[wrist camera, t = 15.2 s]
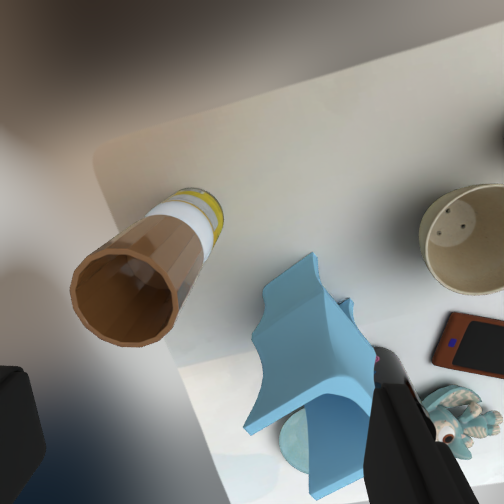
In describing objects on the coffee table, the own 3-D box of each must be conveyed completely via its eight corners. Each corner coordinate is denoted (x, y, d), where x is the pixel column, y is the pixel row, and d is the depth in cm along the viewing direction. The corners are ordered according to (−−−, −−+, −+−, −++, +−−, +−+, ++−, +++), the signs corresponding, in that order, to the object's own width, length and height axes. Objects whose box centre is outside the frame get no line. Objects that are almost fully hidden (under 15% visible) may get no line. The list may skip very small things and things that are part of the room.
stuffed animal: (516, 486, 42) (419, 499, 41) (473, 436, 49) (388, 446, 47) (540, 412, 39) (434, 424, 37) (490, 369, 45) (399, 378, 44)
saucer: (316, 376, 45) (318, 388, 43) (389, 422, 47) (394, 436, 45) (261, 434, 49) (260, 448, 47) (330, 475, 51) (333, 490, 48)
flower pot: (487, 268, 39) (530, 298, 33) (392, 264, 40) (416, 293, 33) (510, 174, 36) (564, 186, 29) (407, 171, 37) (437, 182, 30)
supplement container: (381, 333, 43) (413, 396, 33) (411, 372, 44) (450, 444, 35) (333, 362, 45) (349, 430, 35) (363, 398, 46) (387, 473, 36)
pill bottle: (175, 249, 41) (138, 296, 30) (157, 193, 39) (111, 221, 28) (231, 238, 40) (214, 281, 29) (216, 180, 38) (192, 203, 27)
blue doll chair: (256, 291, 42) (241, 428, 23) (312, 251, 40) (345, 366, 21) (298, 338, 44) (315, 502, 25) (353, 302, 42) (417, 451, 23)
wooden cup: (108, 253, 29) (49, 299, 21) (158, 197, 27) (113, 225, 20) (169, 304, 30) (133, 365, 23) (220, 254, 28) (200, 302, 21)
